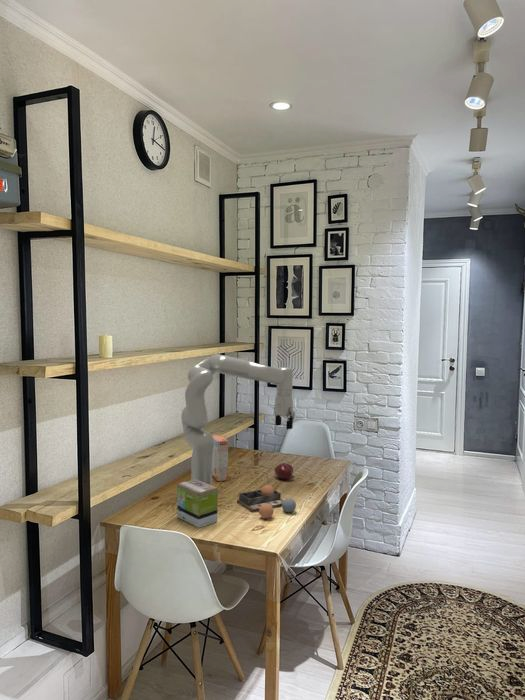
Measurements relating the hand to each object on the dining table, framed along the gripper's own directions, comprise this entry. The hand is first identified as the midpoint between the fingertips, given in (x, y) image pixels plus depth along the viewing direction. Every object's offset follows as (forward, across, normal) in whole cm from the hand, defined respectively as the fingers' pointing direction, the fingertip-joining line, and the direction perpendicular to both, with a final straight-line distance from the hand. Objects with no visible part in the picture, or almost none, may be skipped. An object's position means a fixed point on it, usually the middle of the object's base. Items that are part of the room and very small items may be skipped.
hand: (283, 426), depth 260 cm
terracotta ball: (+27, +31, -29) cm, 50 cm away
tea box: (+30, +18, -55) cm, 65 cm away
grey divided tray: (+30, +16, -22) cm, 40 cm away
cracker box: (+30, -28, -21) cm, 46 cm away
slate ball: (+27, +30, -17) cm, 44 cm away
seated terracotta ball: (+26, +14, -18) cm, 34 cm away
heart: (+30, -11, +8) cm, 33 cm away
